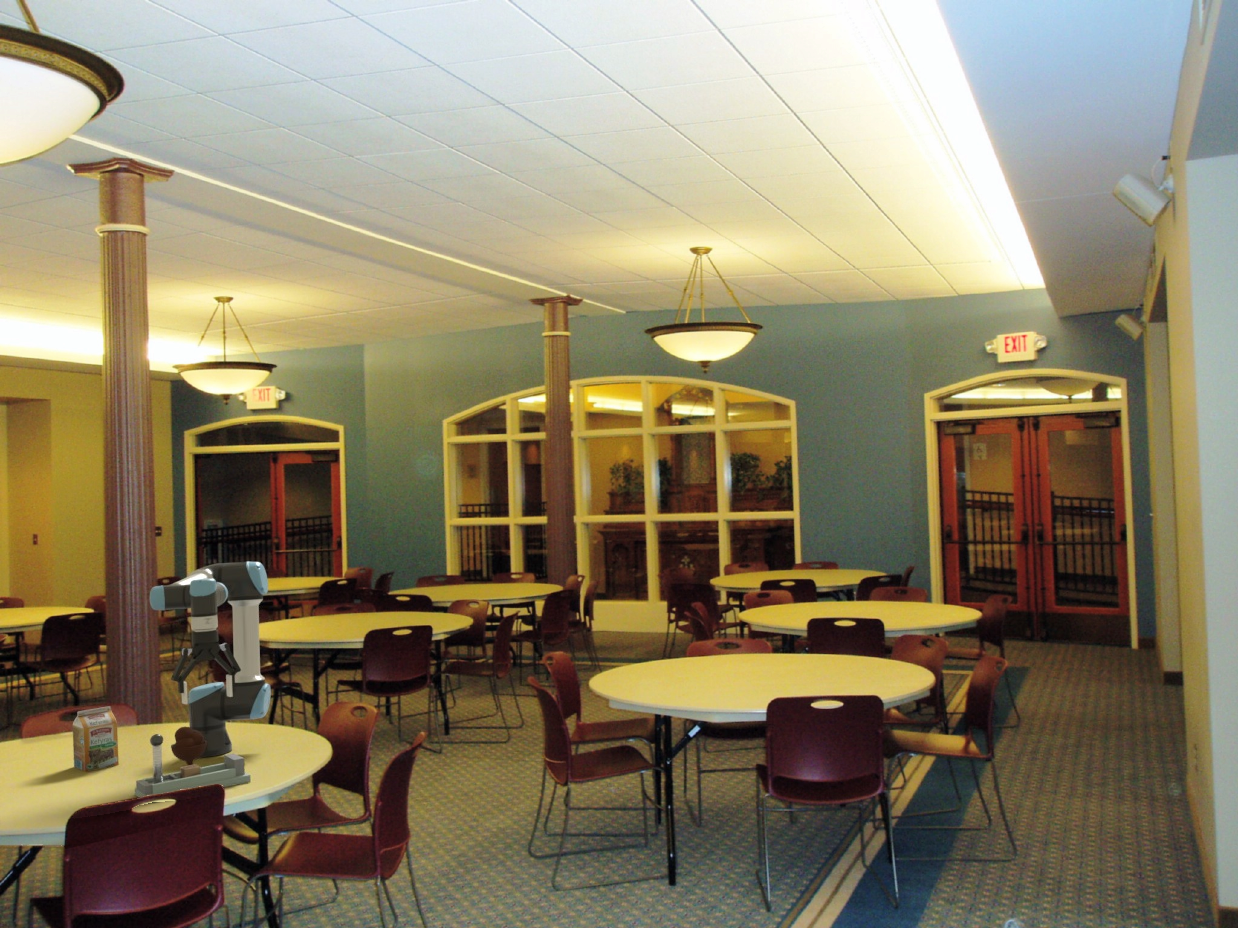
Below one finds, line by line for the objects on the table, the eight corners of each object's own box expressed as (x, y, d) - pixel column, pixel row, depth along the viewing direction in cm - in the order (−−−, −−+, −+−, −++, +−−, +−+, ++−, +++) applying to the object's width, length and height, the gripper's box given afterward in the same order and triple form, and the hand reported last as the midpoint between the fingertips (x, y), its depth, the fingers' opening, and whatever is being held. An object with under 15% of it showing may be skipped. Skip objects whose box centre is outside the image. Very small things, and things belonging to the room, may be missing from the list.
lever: (148, 786, 321) (146, 733, 322) (172, 781, 326) (170, 729, 326) (154, 791, 316) (152, 736, 316) (179, 786, 320) (177, 732, 321)
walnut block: (180, 781, 326) (180, 766, 326) (195, 778, 329) (195, 763, 329) (185, 784, 322) (184, 769, 323) (200, 781, 325) (200, 766, 325)
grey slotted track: (134, 794, 322) (133, 770, 322) (235, 773, 341) (234, 751, 341) (147, 803, 312) (146, 778, 312) (250, 781, 330) (249, 758, 331)
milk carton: (107, 760, 368) (105, 704, 369) (118, 764, 361) (116, 707, 361) (74, 766, 361) (71, 709, 361) (85, 771, 353) (82, 713, 354)
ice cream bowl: (186, 779, 337) (185, 731, 337) (164, 775, 342) (162, 728, 343) (215, 771, 346) (213, 723, 346) (193, 767, 351) (191, 721, 352)
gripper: (166, 635, 317) (169, 708, 317) (249, 625, 334) (252, 694, 333) (158, 634, 323) (160, 705, 323) (240, 624, 340) (242, 692, 339)
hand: (207, 700), depth 328 cm, fingers open, 13 cm apart
